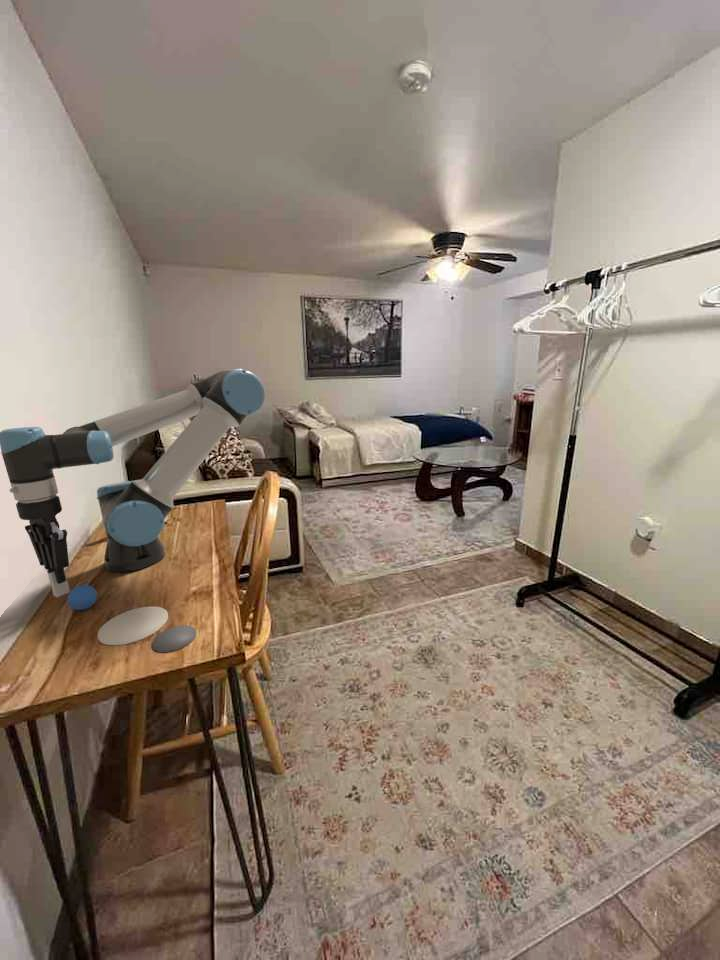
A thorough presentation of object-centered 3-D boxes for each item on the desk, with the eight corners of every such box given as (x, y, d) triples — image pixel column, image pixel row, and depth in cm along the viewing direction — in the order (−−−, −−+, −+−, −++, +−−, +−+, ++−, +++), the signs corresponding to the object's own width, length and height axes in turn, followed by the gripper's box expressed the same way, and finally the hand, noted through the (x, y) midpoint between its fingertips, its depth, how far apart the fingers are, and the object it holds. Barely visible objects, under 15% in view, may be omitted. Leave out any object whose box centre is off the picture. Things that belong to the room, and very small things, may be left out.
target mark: (120, 608, 88) (120, 608, 88) (178, 605, 89) (178, 604, 89) (82, 647, 76) (82, 646, 76) (150, 643, 76) (150, 642, 76)
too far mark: (163, 627, 81) (163, 626, 81) (202, 625, 81) (202, 624, 81) (144, 653, 73) (143, 652, 73) (187, 651, 74) (186, 650, 74)
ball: (80, 601, 92) (75, 580, 91) (104, 600, 92) (99, 579, 91) (64, 615, 87) (58, 593, 85) (89, 614, 87) (84, 592, 85)
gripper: (2, 499, 86) (28, 595, 92) (32, 506, 80) (59, 608, 86) (41, 490, 92) (64, 581, 98) (72, 496, 86) (94, 592, 92)
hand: (61, 593), depth 92 cm, fingers closed
